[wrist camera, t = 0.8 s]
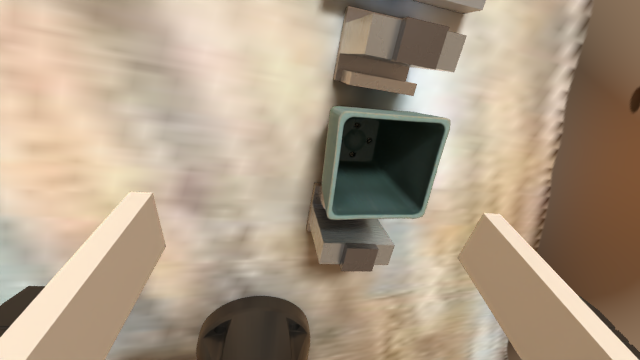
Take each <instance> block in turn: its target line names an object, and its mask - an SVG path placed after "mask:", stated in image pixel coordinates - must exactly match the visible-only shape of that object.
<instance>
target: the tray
mask: <svg viewBox="0 0 640 360" xmlns="http://www.w3.org/2000/svg"><path fill="white" fill-rule="evenodd" d="M413 1H417V2H421V3H425V4H429V5H433V6H436V7H440V8H444V9H448V10H452V11H456V12H459V13H463V14H464V13H470V12H475V11H480V10H483V7H484V4H485V1H486V0H413Z"/></svg>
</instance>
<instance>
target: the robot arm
mask: <svg viewBox="0 0 640 360" xmlns="http://www.w3.org/2000/svg"><path fill="white" fill-rule="evenodd" d="M165 247H166V245H165V241H164V237H163V233H162V229H161V225H160V221H159V217H158V213H157V208H156V204H155V200H154V196H153V193H148V192H131V191H130V192H129V193H128V194H127V195H126V196H125V198H124V199H123V200H122V201H121V202H120V203H119V204H118V205H117V207H116V208H115V209H114V210H113V211H112V212H111V213H110V214H109V216H108V217H107V218H106V219H105V220H104V221H103V222H102V223H101V225H100V226H99V227H98V228H97V229H96V230H95V231H94V232H93V234H92V235H91V236H90V237H89V238H88V239H87V240H86V241H85V243H84V244H83V245H82V246H81V247H80V248H79V249H78V250H77V252H76V253H75V254H74V255H73V256H72V257H71V258H70V259H69V261H68V262H67V263H66V264H65V265H64V266H63V267H62V269H61V270H60V271H59V272H58V273H57V274H56V275H55V276H54V278H53V279H52V280H51V281H50V282H49V283H48V284H47V285H46V286H28V287H27V288H25V289H24V290H22V291H21V292H19V293H18V294H16V295H15V296H13V297H12V298H10V299H9V300H7V301H6V302H4V303H3V304H2V305H1V306H0V360H105V358H106V356H107V354H108V353H109V351H110V349H111V347H112V345H113V343H114V341H115V340H116V338H117V336H118V334H119V332H120V330H121V328H122V327H123V325H124V323H125V321H126V319H127V317H128V316H129V314H130V312H131V310H132V308H133V306H134V304H135V303H136V301H137V299H138V297H139V295H140V293H141V291H142V290H143V288H144V286H145V284H146V282H147V280H148V279H149V277H150V275H151V273H152V271H153V269H154V267H155V266H156V264H157V262H158V260H159V258H160V256H161V254H162V253H163V251H164V249H165ZM458 259H459V261H460V262H461V264H462V265H463V267H464V269H465V270H466V272H467V273H468V275H469V277H470V278H471V280H472V281H473V283H474V285H475V286H476V288H477V289H478V291H479V293H480V294H481V296H482V297H483V299H484V301H485V302H486V304H487V305H488V307H489V309H490V310H491V312H492V313H493V315H494V317H495V318H496V320H497V321H498V323H499V325H500V326H501V328H502V329H503V331H504V333H505V334H506V336H507V337H508V339H509V341H510V342H511V344H512V345H513V347H514V348H515V350H516V352H517V353H518V355H519V356H520V358H521V360H640V352H639V351H638V350H637V349H636V348H635V347H634V346H633V345H630V344H629V341H628V340H627V339H626V338H625V337H624V336H623V335H622V334H621V333H620V332H619V331H617V330H615V327H614V326H613V325H612V323H611V322H610V321H609V320H608V319H607V318H606V317H605V316H604V315H603V314H602V313H601V312H600V311H599V310H597V309H596V308H595V307H594V306H592V305H591V304H590V303H588V302H587V301H585V300H584V299H583V298H582V297H580V296H578V295H577V294H576V293H574V291H573V290H572V289H571V288H570V287H569V286H568V285H567V284H566V283H565V282H564V281H563V280H562V279H561V278H560V277H559V276H558V275H557V274H556V272H555V271H554V270H553V269H552V268H551V267H550V266H549V265H548V264H547V263H546V262H545V261H544V260H543V259H542V258H541V257H540V256H539V255H538V253H537V252H536V251H535V250H534V249H533V248H532V247H531V246H530V245H529V244H528V243H527V242H526V241H525V240H524V239H523V238H522V237H521V236H520V235H519V234H518V233H517V231H516V230H515V229H514V228H513V227H512V226H511V225H510V224H509V223H508V222H507V221H506V220H505V219H504V218H503V217H502V216H501V215H500V214H491V213H483V215H482V216H481V218H480V220H479V222H478V223H477V225H476V227H475V229H474V230H473V232H472V234H471V235H470V237H469V239H468V241H467V242H466V244H465V246H464V248H463V249H462V251H461V253H460V254H459V256H458ZM309 347H310V332H309V325H308V321H307V318H306V316H305V314H304V313H303V312H302V310H301V309H300V308H298V307H297V306H296V305H294V304H293V303H291V302H289V301H286V300H283V299H280V298H276V297H269V296H254V297H247V298H242V299H238V300H235V301H232V302H230V303H227V304H225V305H223V306H222V307H220V308H218V309H217V310H216V311H214V312H213V313H212V314H211V315H210V316H209V317H208V318H207V319H206V320H205V322H204V323H203V325H202V327H201V330H200V334H199V338H198V343H197V348H196V357H197V360H307V359H308V353H309Z"/></svg>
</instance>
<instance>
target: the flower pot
mask: <svg viewBox="0 0 640 360" xmlns="http://www.w3.org/2000/svg"><path fill="white" fill-rule="evenodd" d="M355 123H359V126H358V127H355V126H354V125H355ZM449 130H450V120H449V119H447V118H443V117H437V116H432V115H426V114H421V113H416V112H408V111H393V110H379V109H367V108H355V107H343V106H334V107H332V108H331V110H330V114H329V123H328V132H327V141H326V149H325V158H324V166H323V174H322V191H323V197H324V203H325V208H326V214H327V217H328V218H329V219H334V220H340V219H342V220H343V219H344V220H347V219H384V218H385V219H386V218H411V219H415V218H420V217H422V216H423V215H424V213H425V210H426V207H427V203H428V200H429V197H430V193H431V189H432V186H433V182H434V179H435V175H436V172H437V168H438V165H439V162H440V158H441V155H442V152H443V149H444V146H445V143H446V139H447V137H448V134H449ZM368 138H370V139H371V141H370V143H367V142H366V140H367V139H368ZM351 152H354V156H350V153H351Z"/></svg>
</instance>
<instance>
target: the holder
mask: <svg viewBox="0 0 640 360" xmlns="http://www.w3.org/2000/svg"><path fill="white" fill-rule="evenodd" d="M448 29H449V27H447V26H443V25H438V24H434V23H430V22H426V21H422V20H418V19H414V18H410V17H406V18H402V19H401V18H397V17H393V16H389V15H385V14H380V13H376V12H372V11H368V10H364V9H360V8H356V7H351V6H347V7H346V10H345V16H344V21H343V27H342V33H341V38H340V44H339V49H338V55H337V60H336V66H335V71H334V77H333V79H334V80H337V81H341V82H344V83H346V84H349V85H353V86H359V87H365V88H371V89H377V90H383V91H388V92H394V93H400V94H406V95H412V96H414V93H415V89H416V86H417V84H415V83H410V82H406V78H407V74H408V71H409V67H413V68H422V69H430V70H439V71H448V72H454V71H455V68H456V65H457V62H458V59H459V56H460V54H461V51H462V48H463V45H464V42H465V39H466V35H462V34H458V33H453V32H449V31H448ZM306 228H307V231H311V232H312V237H313V241H314V245H315V249H316V253H317V257H318V261H319V264H340V268H341V271H372V269H373V266H374V265H388V263H389V260H390V257H391V255H392V252H393V249H394V246H395V245H394V243H393V242H392V240H391V239H390V237H389V236H388V234H387V233H386V231H385V230H384V228H383V227H382V225H381V224H380V222H379V221H378V219H347V220H344V219H343V220H342V219H340V220H334V219H329V218H328V217H327V214H326V208H325V203H324V197H323V191H322V183H314V188H313V193H312V199H311V205H310V210H309V216H308V221H307V227H306Z"/></svg>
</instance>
